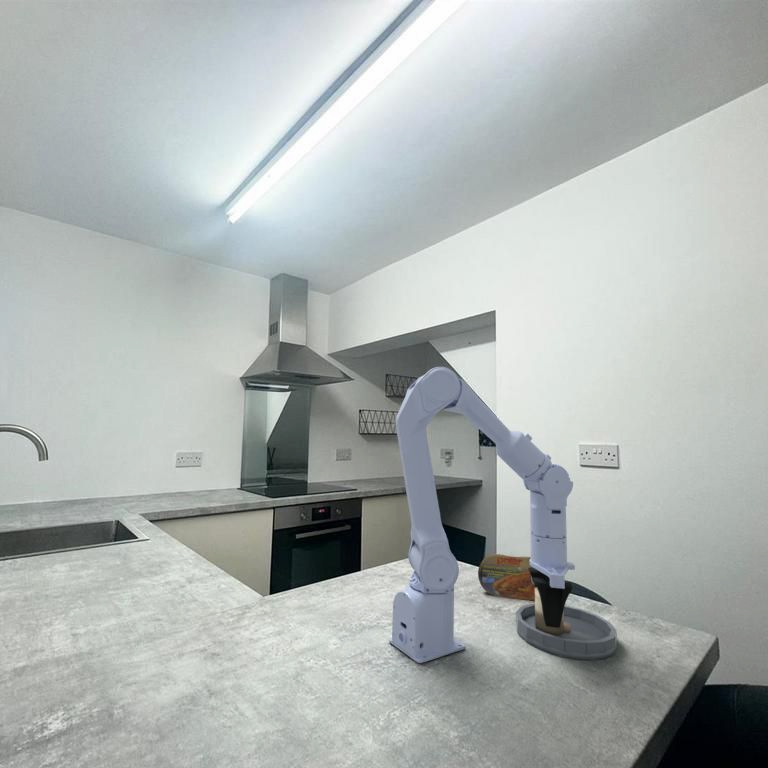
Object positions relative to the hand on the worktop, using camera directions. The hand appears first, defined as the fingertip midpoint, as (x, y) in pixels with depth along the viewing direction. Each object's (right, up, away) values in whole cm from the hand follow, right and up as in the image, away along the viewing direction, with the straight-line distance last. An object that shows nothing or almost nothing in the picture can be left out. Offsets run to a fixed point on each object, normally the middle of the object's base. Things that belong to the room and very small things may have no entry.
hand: (549, 620), depth 70 cm
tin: (0, -7, +20) cm, 21 cm away
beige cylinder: (0, -1, 0) cm, 1 cm away
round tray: (+3, -4, +2) cm, 5 cm away
